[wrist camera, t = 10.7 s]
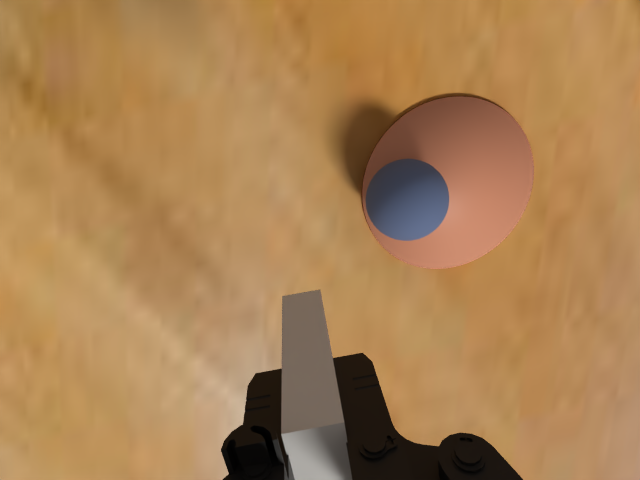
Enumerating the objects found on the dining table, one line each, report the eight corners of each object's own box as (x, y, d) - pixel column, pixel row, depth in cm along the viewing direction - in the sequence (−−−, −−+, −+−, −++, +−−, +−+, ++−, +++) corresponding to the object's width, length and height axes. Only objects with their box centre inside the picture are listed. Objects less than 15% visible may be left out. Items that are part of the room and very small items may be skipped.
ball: (466, 159, 23) (435, 158, 29) (374, 158, 23) (361, 157, 28) (458, 249, 24) (430, 232, 30) (371, 249, 24) (359, 232, 30)
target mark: (331, 155, 28) (331, 156, 27) (500, 59, 26) (501, 59, 26) (405, 294, 32) (405, 295, 32) (552, 218, 31) (554, 219, 31)
